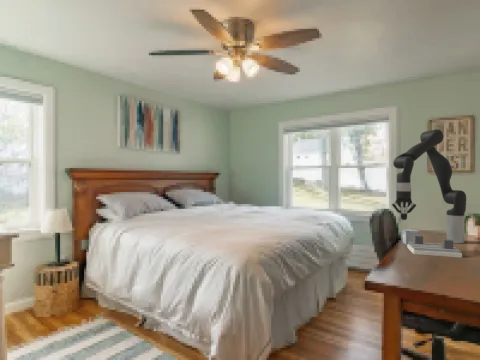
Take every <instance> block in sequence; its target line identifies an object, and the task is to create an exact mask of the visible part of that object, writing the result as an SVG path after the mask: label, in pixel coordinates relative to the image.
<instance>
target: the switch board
mask: <svg viewBox="0 0 480 360" xmlns="http://www.w3.org/2000/svg"><path fill="white" fill-rule="evenodd" d="M406 247H407V248H408V250H409V251H410V252H411V253H412V254H413V255H420V256H436V257H448V258H449V257H450V258H451V257H452V258H463V254H462V252H461V249H458V248H457V247H455V246H454V245H453V249H443V243H434V242H423V244H414V242H409V244H406Z"/></svg>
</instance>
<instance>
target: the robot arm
mask: <svg viewBox="0 0 480 360" xmlns="http://www.w3.org/2000/svg"><path fill="white" fill-rule="evenodd" d="M444 137H445V136H444V133H443V131H442V130H440V129H432V130H426V131H424V132H422V133H421V134H420V142H419V143H416V144H415V145H413V146H412V147H410V148H409V149H408V150H407V151H406V152H403V153H401V154H399V155H398V156H396V157H395V158H394V159H393V161H392V162H393V167H394V168H396V169H397V170H398V169H400V170H401V169H403V170H402V172H399V173H398V172H397V174H396V187H395V188H396V191H395V192H396V193H395V194H396V196H395V197H396V198H395V199H396V200H395V202H393V203H391V206H392V207H393V208H394V209H395V211H396V212H397V213H399V214H400V219H401V220H402V221H406V220H407V219H408V214H410V213H412V212H413V210H414V209H415V208H416V207H417V204H415V203H413V201H412V185H411V176H412V172H413V168H414V164H415V161H416V160H418V159H419V158H420V157H421V156H422V155H424V154H425V153H426V154H427V156H428V159H429V161H430V163H431V167H432V168H433V172H434V174H435V177H436V178H437V182H438V184H439V188H440V191H441V195H442V199H443V201H444V202H445V204H448V205H453V207H452V208H450V209H447V210H446V239H447V240H453V244H454V243H455V244H465V241H466V240H465V238H466V237H465V229H466V228H465V213H466V211H467V194H466V191H463V190H458V189H453V188H452V185H451V182H450V181H451V178H452V175H453V167H452V165H451V163H450V161H449V159H448V158H447V157H445V156H444V155H443V154H442V153H440V152H439V151H438V150H437V149H436V147H435V146H438V145H439V144H441V143H442V142H443V140H444V139H445V138H444ZM398 207H399V208H398Z"/></svg>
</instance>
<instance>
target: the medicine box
mask: <svg viewBox="0 0 480 360" xmlns="http://www.w3.org/2000/svg"><path fill="white" fill-rule="evenodd" d="M414 235H420V231H419V230H418V229H402V243H403V244H404V245H407V244H409V242H414Z"/></svg>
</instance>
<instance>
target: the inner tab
mask: <svg viewBox="0 0 480 360" xmlns="http://www.w3.org/2000/svg"><path fill="white" fill-rule="evenodd" d="M423 243H424V236H423V235H420V234H419V235H414V244H423Z"/></svg>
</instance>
